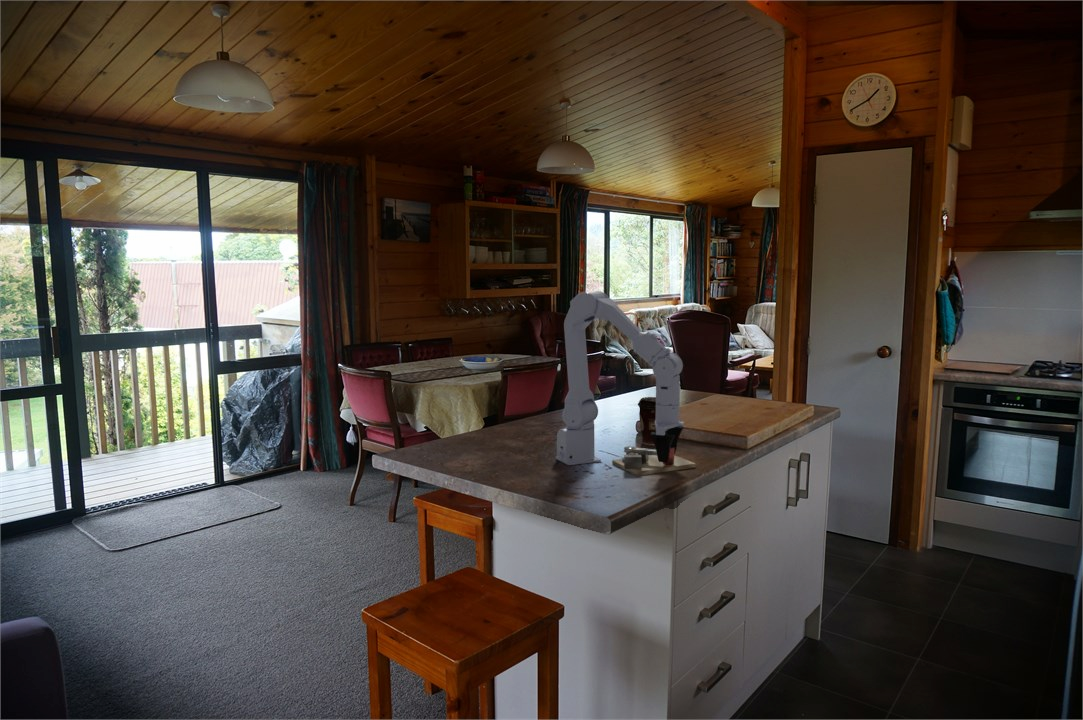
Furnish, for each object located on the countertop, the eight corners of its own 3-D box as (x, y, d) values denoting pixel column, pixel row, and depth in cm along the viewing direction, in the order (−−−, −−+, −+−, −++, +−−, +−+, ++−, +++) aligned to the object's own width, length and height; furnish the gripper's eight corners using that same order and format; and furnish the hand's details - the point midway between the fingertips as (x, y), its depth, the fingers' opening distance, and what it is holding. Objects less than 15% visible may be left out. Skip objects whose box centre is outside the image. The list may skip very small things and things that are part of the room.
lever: (622, 460, 178) (622, 444, 177) (626, 458, 180) (626, 442, 180) (672, 466, 172) (672, 449, 171) (675, 463, 174) (675, 447, 174)
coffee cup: (632, 444, 200) (633, 399, 199) (642, 438, 208) (642, 395, 206) (662, 447, 196) (662, 402, 195) (671, 441, 204) (671, 397, 202)
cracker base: (631, 476, 168) (631, 459, 168) (607, 464, 179) (607, 448, 179) (695, 467, 176) (695, 451, 175) (668, 456, 187) (668, 441, 186)
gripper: (677, 409, 163) (676, 467, 165) (690, 399, 176) (689, 452, 178) (647, 407, 166) (647, 464, 167) (662, 398, 179) (661, 450, 181)
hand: (666, 458), depth 173 cm, fingers open, 7 cm apart
